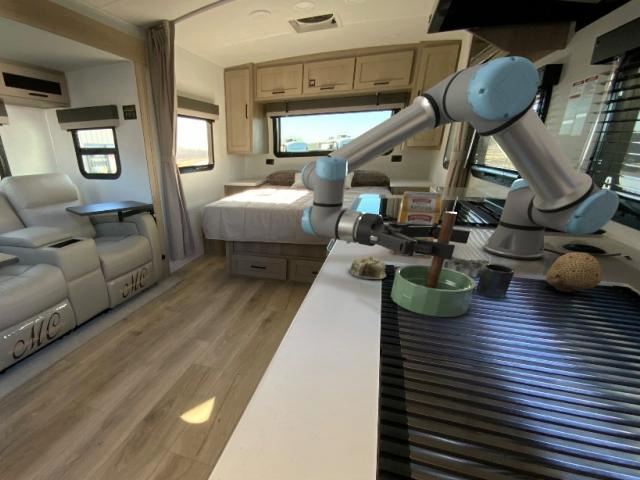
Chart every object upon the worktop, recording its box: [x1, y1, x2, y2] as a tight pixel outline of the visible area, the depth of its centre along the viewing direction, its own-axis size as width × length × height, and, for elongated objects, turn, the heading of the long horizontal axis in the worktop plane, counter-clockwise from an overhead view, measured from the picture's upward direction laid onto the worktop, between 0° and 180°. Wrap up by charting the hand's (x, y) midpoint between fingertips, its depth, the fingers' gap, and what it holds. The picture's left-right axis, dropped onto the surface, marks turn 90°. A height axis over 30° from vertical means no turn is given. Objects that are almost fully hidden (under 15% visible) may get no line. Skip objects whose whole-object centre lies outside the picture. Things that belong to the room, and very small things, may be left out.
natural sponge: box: [545, 251, 603, 293], centre depth 78 cm, size 9×9×10 cm
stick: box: [425, 210, 458, 289], centre depth 71 cm, size 2×2×20 cm
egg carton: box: [442, 255, 490, 278], centre depth 93 cm, size 11×8×4 cm
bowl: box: [390, 264, 477, 318], centre depth 75 cm, size 16×16×6 cm
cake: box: [348, 255, 387, 280], centre depth 92 cm, size 10×10×5 cm
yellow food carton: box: [392, 191, 443, 259], centre depth 106 cm, size 11×11×19 cm
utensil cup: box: [474, 263, 515, 300], centre depth 78 cm, size 6×6×7 cm
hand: (461, 244), depth 68 cm, fingers open, 13 cm apart
